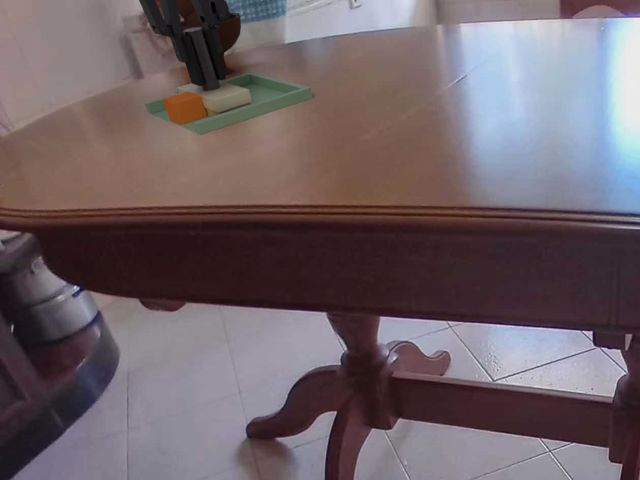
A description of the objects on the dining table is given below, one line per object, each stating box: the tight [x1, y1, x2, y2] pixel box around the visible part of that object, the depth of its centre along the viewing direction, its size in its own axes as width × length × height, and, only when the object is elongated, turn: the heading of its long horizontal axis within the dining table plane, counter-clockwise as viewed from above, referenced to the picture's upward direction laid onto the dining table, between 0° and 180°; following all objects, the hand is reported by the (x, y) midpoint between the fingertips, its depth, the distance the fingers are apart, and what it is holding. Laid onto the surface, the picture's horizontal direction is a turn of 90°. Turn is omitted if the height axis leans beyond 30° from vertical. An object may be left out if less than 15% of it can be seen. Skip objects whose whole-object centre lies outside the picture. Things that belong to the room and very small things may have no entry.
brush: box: [176, 27, 252, 117], centre depth 101 cm, size 12×5×11 cm, turn 45°
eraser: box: [163, 92, 207, 125], centre depth 100 cm, size 4×4×3 cm
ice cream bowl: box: [176, 0, 242, 76], centre depth 118 cm, size 11×11×15 cm
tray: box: [144, 71, 314, 136], centre depth 105 cm, size 18×18×2 cm
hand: (208, 80), depth 101 cm, fingers closed on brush, 3 cm apart
